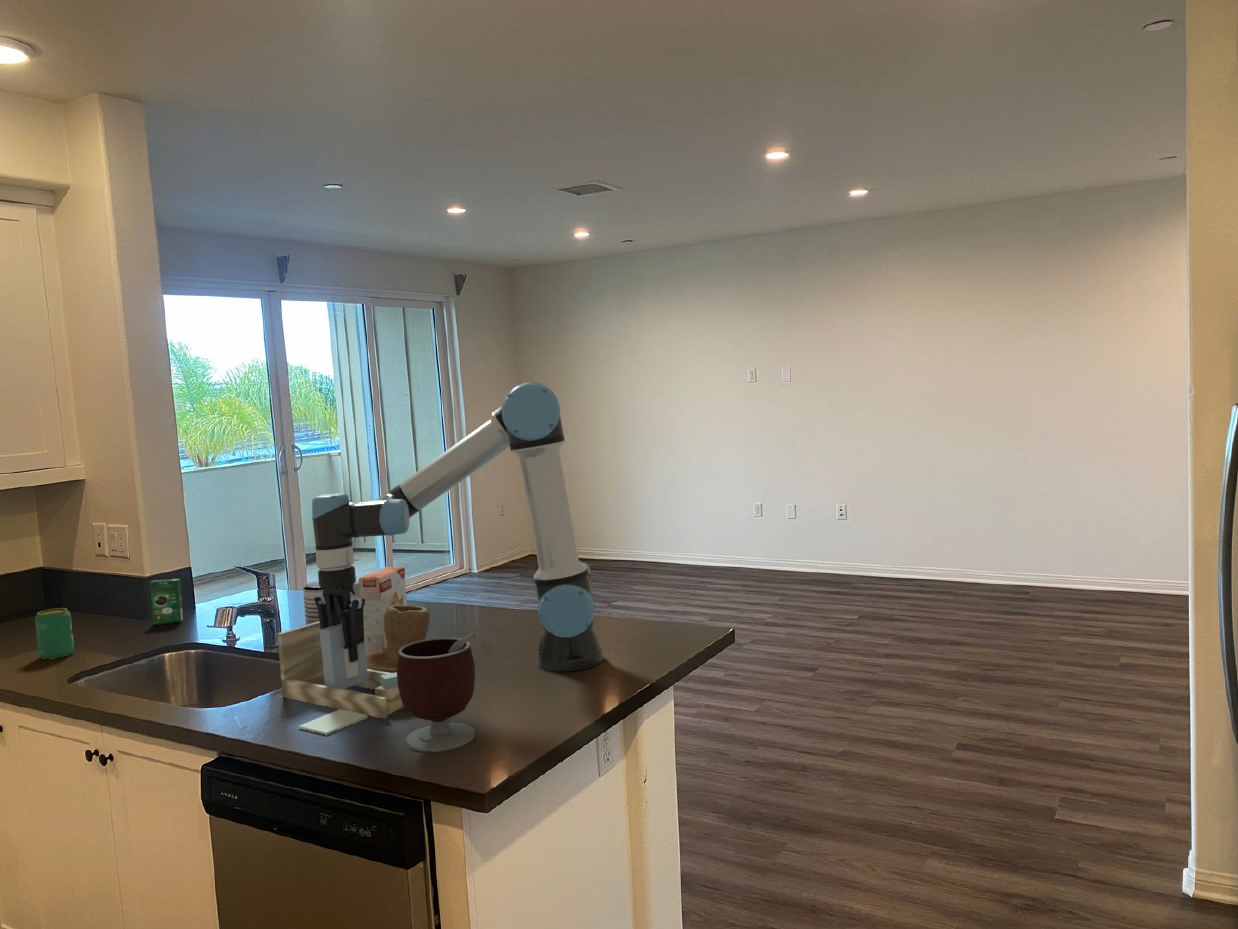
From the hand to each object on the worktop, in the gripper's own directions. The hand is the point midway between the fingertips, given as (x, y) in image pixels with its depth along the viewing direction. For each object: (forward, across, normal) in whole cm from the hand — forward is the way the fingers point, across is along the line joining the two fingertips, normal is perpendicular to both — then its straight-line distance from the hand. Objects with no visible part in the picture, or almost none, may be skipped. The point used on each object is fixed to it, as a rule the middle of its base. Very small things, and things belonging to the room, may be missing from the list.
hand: (346, 675), depth 192 cm
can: (+4, +57, -42) cm, 71 cm away
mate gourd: (+5, -37, +9) cm, 38 cm away
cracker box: (+5, +15, -26) cm, 30 cm away
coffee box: (+4, +106, -24) cm, 109 cm away
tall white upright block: (+2, 0, 0) cm, 2 cm away
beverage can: (+3, +101, +10) cm, 102 cm away
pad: (+4, -11, +13) cm, 17 cm away
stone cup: (+5, +3, -19) cm, 20 cm away
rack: (+5, -3, 0) cm, 5 cm away
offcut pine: (+3, -14, 0) cm, 15 cm away
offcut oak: (+5, -14, 0) cm, 15 cm away
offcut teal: (0, -15, 0) cm, 15 cm away
